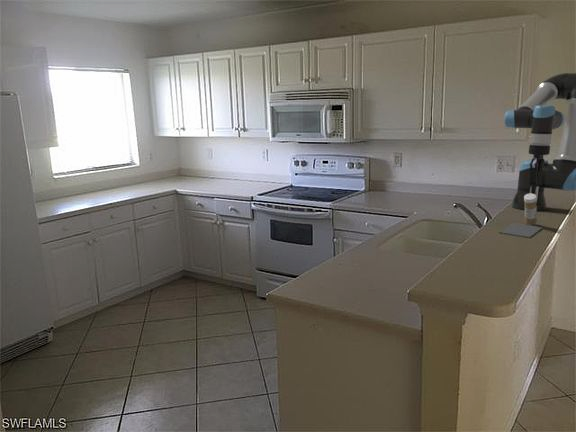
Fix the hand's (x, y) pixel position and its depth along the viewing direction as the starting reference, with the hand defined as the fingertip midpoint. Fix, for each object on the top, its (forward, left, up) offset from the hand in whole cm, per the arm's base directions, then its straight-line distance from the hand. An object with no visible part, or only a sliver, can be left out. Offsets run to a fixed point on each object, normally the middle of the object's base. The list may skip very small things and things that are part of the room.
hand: (532, 201), depth 199 cm
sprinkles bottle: (-1, 0, -9) cm, 9 cm away
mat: (+13, 0, -10) cm, 16 cm away
